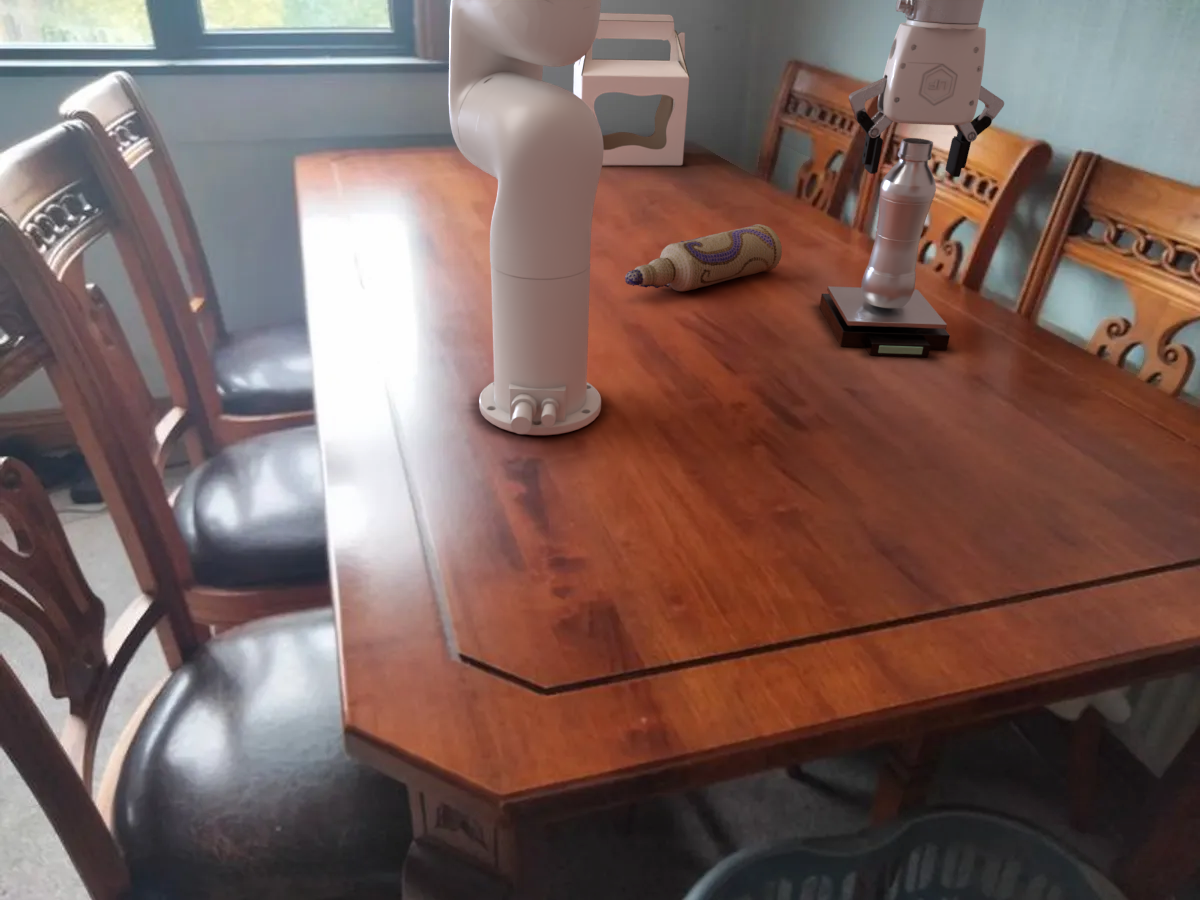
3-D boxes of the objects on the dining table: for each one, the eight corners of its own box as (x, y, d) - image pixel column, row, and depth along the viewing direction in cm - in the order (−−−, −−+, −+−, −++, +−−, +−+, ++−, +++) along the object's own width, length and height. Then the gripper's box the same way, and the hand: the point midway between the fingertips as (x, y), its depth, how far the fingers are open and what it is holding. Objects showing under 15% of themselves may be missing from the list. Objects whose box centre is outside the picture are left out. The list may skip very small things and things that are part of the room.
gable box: (578, 165, 187) (581, 15, 173) (571, 151, 198) (573, 9, 184) (683, 165, 190) (695, 18, 176) (670, 151, 201) (680, 11, 187)
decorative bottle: (745, 261, 138) (750, 217, 134) (780, 276, 132) (787, 231, 129) (607, 292, 124) (609, 244, 121) (640, 310, 119) (644, 261, 116)
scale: (953, 359, 109) (959, 334, 107) (845, 355, 109) (849, 330, 107) (915, 310, 122) (920, 288, 121) (819, 307, 122) (823, 284, 120)
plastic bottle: (852, 307, 114) (882, 142, 103) (865, 291, 119) (895, 132, 109) (904, 318, 111) (940, 150, 101) (915, 301, 116) (951, 139, 106)
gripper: (873, 11, 95) (845, 177, 103) (1038, 18, 95) (996, 183, 103) (856, 5, 101) (831, 162, 110) (1010, 11, 101) (973, 168, 110)
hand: (911, 172), depth 107 cm, fingers open, 9 cm apart
